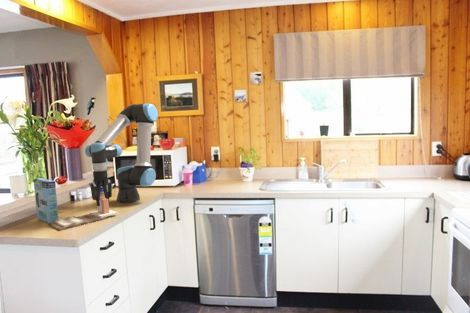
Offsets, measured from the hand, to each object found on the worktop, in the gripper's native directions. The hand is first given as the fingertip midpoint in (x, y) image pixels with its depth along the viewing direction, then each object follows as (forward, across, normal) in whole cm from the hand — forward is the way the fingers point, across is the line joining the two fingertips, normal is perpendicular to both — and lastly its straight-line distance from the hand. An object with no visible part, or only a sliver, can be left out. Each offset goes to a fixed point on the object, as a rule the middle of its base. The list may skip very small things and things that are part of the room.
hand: (103, 210), depth 209 cm
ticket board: (+3, +15, 0) cm, 15 cm away
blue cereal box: (+3, +24, -20) cm, 31 cm away
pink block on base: (+2, 0, 0) cm, 2 cm away
